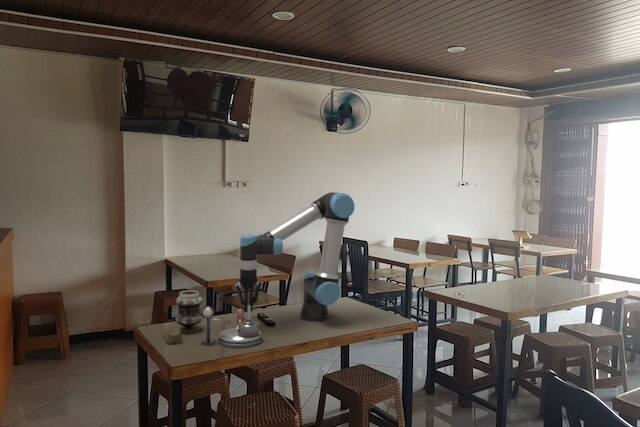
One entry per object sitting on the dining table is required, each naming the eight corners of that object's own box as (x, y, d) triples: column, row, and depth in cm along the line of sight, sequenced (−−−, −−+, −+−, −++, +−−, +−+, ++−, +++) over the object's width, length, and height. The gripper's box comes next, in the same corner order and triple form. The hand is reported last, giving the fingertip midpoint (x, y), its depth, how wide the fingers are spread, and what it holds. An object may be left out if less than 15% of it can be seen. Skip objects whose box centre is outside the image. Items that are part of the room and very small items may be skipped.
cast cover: (258, 331, 215) (258, 318, 215) (259, 337, 206) (259, 324, 206) (238, 331, 214) (238, 318, 213) (237, 338, 205) (237, 324, 204)
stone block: (168, 345, 204) (168, 334, 204) (164, 337, 215) (164, 326, 214) (182, 343, 207) (182, 332, 206) (177, 336, 217) (177, 325, 217)
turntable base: (265, 334, 221) (265, 330, 221) (258, 348, 202) (259, 345, 202) (223, 333, 221) (223, 329, 221) (213, 347, 202) (213, 344, 202)
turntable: (260, 326, 226) (260, 308, 226) (262, 342, 204) (262, 322, 203) (220, 327, 223) (220, 309, 223) (218, 344, 201) (218, 323, 201)
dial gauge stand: (222, 341, 210) (222, 304, 209) (219, 345, 205) (219, 307, 204) (204, 340, 210) (204, 304, 209) (200, 344, 205) (200, 307, 204)
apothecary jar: (203, 333, 221) (203, 294, 219) (176, 336, 216) (176, 296, 215) (200, 325, 232) (200, 288, 231) (174, 328, 228) (174, 290, 226)
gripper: (258, 265, 229) (258, 314, 231) (232, 268, 223) (232, 318, 225) (264, 269, 222) (264, 319, 225) (237, 271, 216) (237, 322, 219)
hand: (248, 318), depth 225 cm, fingers closed
